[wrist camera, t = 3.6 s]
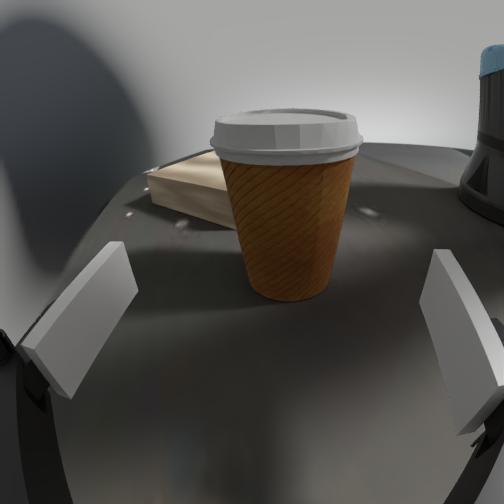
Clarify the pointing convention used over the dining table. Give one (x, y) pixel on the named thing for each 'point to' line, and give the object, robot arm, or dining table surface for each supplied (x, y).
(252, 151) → the disposable coffee cup
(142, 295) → the dining table surface
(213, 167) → the wooden base block
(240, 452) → the dining table surface
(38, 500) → the robot arm
